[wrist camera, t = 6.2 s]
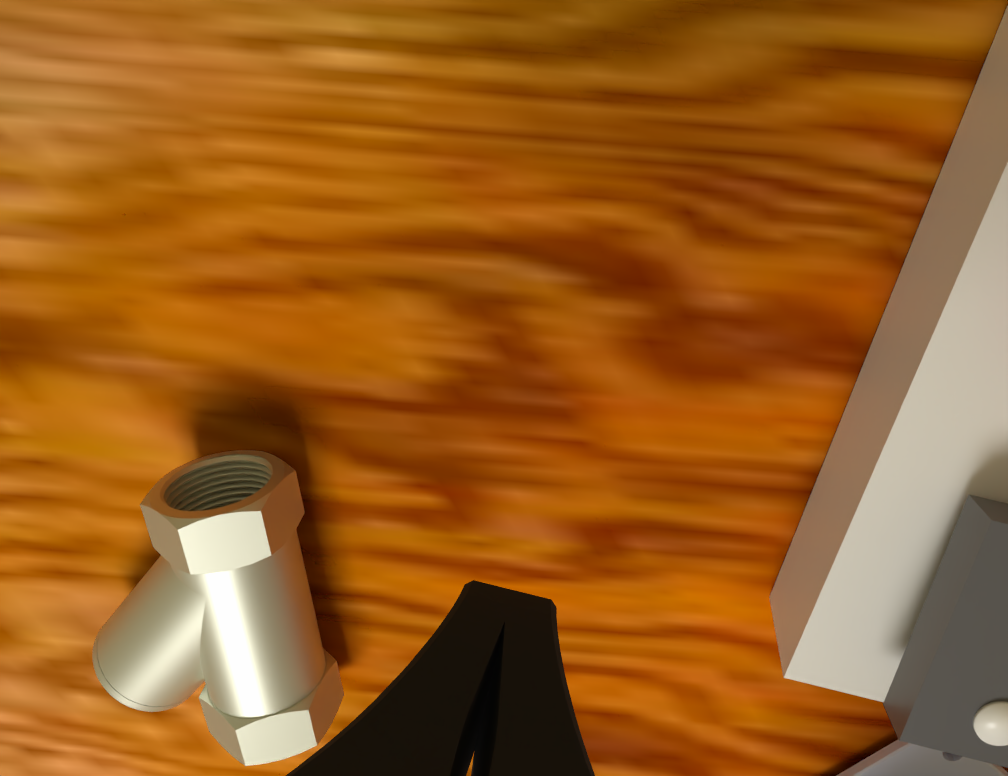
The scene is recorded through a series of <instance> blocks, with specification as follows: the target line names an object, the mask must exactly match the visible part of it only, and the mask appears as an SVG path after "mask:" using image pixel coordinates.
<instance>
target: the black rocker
mask: <svg viewBox="0 0 1008 776" xmlns="http://www.w3.org/2000/svg"><path fill="white" fill-rule="evenodd" d="M883 705H884V707H885V710H886V712H887V714H888V717H889V719H890V721H891V723H892V726H893V728H894V730H895V733H896V735H897V737H898V739H899V741H903V742H907V743H911V744H915V745H919V746H923V747H927V748H931V749H935V750H939V751H943V752H947V753H951V754H955V755H959V756H963V757H967V758H971V759H975V760H979V761H983V762H987V763H991V764H995V765H999V766H1003V767H1007V768H1008V503H1003V502H999V501H995V500H991V499H986V498H982V497H978V496H973V495H968V497H967V499H966V502H965V504H964V507H963V509H962V512H961V514H960V517H959V519H958V521H957V524H956V526H955V529H954V531H953V534H952V536H951V539H950V541H949V544H948V546H947V548H946V551H945V553H944V556H943V558H942V561H941V563H940V566H939V568H938V571H937V573H936V575H935V578H934V580H933V583H932V585H931V588H930V590H929V593H928V595H927V597H926V600H925V602H924V605H923V607H922V610H921V612H920V615H919V617H918V620H917V622H916V624H915V627H914V629H913V632H912V634H911V637H910V639H909V642H908V644H907V647H906V649H905V651H904V654H903V656H902V659H901V661H900V664H899V666H898V669H897V671H896V673H895V676H894V678H893V681H892V683H891V686H890V688H889V691H888V693H887V696H886V698H885V700H884V703H883Z"/></svg>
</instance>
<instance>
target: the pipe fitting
mask: <svg viewBox="0 0 1008 776" xmlns="http://www.w3.org/2000/svg"><path fill="white" fill-rule="evenodd" d="M140 506H141V509H142V512H143V516H144V519H145V522H146V525H147V529H148V532H149V535H150V539H151V542H152V545H153V547H154V548H155V550H156V551H157V552H158V553H159V554H160V555H161V556H160V557H159V558H158V559H157V561H156V562H155V563H154V564H153V566H152V567H151V568H150V569H149V570H148V572H147V573H146V574H145V575H144V577H143V578H142V579H141V580H140V581H139V583H138V584H137V585H136V586H135V588H134V589H133V590H132V591H131V592H130V594H129V595H128V596H127V597H126V599H125V600H124V601H123V602H122V603H121V605H120V606H119V607H118V608H117V610H116V611H115V612H114V613H113V615H112V616H111V617H110V618H109V619H108V621H107V622H106V623H105V624H104V625H103V627H102V628H101V629H100V631H99V633H98V634H97V637H96V639H95V642H94V646H93V664H94V669H95V672H96V675H97V677H98V679H99V681H100V683H101V684H102V686H103V687H104V688H105V690H106V691H107V692H108V693H109V694H110V695H111V696H112V697H113V698H115V699H116V700H117V701H119V702H120V703H122V704H124V705H126V706H128V707H131V708H133V709H136V710H141V711H149V712H157V711H164V710H168V709H171V708H173V707H176V706H178V705H179V704H181V703H183V702H184V701H185V700H187V699H188V698H189V697H190V696H191V695H192V694H193V693H194V692H195V690H196V689H197V688H198V687H199V686H200V685H201V684H202V683H203V682H204V681H205V683H206V685H205V687H204V689H203V691H202V692H201V694H200V696H199V699H200V703H201V706H202V709H203V713H204V716H205V719H206V722H207V726H208V729H209V732H210V733H211V734H212V735H213V737H214V738H215V739H216V740H217V741H218V742H219V743H220V744H221V745H222V746H223V748H224V749H225V750H226V751H227V752H228V753H230V754H231V755H232V756H233V757H234V758H235V759H237V760H238V761H239V762H241V763H242V764H244V765H245V766H248V765H258V764H265V763H270V762H274V761H278V760H283V759H286V758H289V757H291V756H294V755H297V754H300V753H302V752H304V751H306V750H308V749H310V748H313V747H315V746H317V745H318V743H319V742H320V741H321V739H322V738H323V737H324V735H325V734H326V732H327V730H328V729H329V727H330V725H331V724H332V722H333V719H334V717H335V715H336V713H337V711H338V709H339V706H340V704H341V701H342V698H343V696H344V692H343V687H342V683H341V678H340V674H339V669H338V664H337V660H336V659H334V658H333V657H332V656H331V655H330V654H329V653H328V652H327V651H326V650H325V649H323V646H322V642H321V637H320V633H319V628H318V624H317V619H316V615H315V610H314V606H313V601H312V597H311V592H310V588H309V583H308V579H307V574H306V570H305V565H304V561H303V556H302V552H301V547H300V543H299V538H298V534H297V529H296V528H297V526H298V525H299V523H300V521H301V519H302V517H303V515H304V513H305V511H304V507H303V502H302V497H301V493H300V488H299V483H298V479H297V474H296V470H294V469H293V468H292V467H291V466H289V465H288V464H287V463H286V462H284V461H283V460H281V459H279V458H278V457H276V456H274V455H272V454H270V453H267V452H264V451H256V450H235V451H226V452H221V453H216V454H212V455H208V456H204V457H201V458H198V459H195V460H193V461H190V462H188V463H186V464H184V465H182V466H180V467H178V468H176V469H174V470H172V471H171V472H169V473H168V474H166V475H165V476H164V477H163V478H161V479H160V480H159V481H158V482H157V483H156V484H155V485H154V487H153V488H152V489H151V490H150V491H149V493H148V494H147V495H146V497H145V498H144V499H143V501H142V502H141V504H140Z"/></svg>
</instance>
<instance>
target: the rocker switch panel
mask: <svg viewBox="0 0 1008 776" xmlns="http://www.w3.org/2000/svg"><path fill="white" fill-rule="evenodd" d="M968 495H973V496H978V497H982V498H986V499H991V500H995V501H999V502H1003V503H1008V6H1007V8H1006V11H1005V13H1004V16H1003V18H1002V20H1001V23H1000V25H999V28H998V30H997V33H996V35H995V38H994V40H993V43H992V45H991V48H990V50H989V53H988V55H987V58H986V60H985V63H984V65H983V68H982V70H981V73H980V75H979V78H978V80H977V83H976V85H975V88H974V90H973V93H972V95H971V98H970V100H969V102H968V105H967V107H966V110H965V112H964V115H963V117H962V120H961V122H960V125H959V127H958V130H957V132H956V135H955V137H954V140H953V142H952V145H951V147H950V150H949V152H948V155H947V157H946V160H945V162H944V165H943V167H942V170H941V172H940V175H939V177H938V180H937V182H936V184H935V187H934V189H933V192H932V194H931V197H930V199H929V202H928V204H927V207H926V209H925V212H924V214H923V217H922V219H921V222H920V224H919V227H918V229H917V232H916V234H915V237H914V239H913V242H912V244H911V247H910V249H909V252H908V254H907V257H906V259H905V261H904V264H903V266H902V269H901V271H900V274H899V276H898V279H897V281H896V284H895V286H894V289H893V291H892V294H891V296H890V299H889V301H888V304H887V306H886V309H885V311H884V314H883V316H882V319H881V321H880V324H879V326H878V329H877V331H876V334H875V336H874V339H873V341H872V343H871V346H870V348H869V351H868V353H867V356H866V358H865V361H864V363H863V366H862V368H861V371H860V373H859V376H858V378H857V381H856V383H855V386H854V388H853V391H852V393H851V396H850V398H849V401H848V403H847V406H846V408H845V411H844V413H843V416H842V418H841V421H840V423H839V425H838V428H837V430H836V433H835V435H834V438H833V440H832V443H831V445H830V448H829V450H828V453H827V455H826V458H825V460H824V463H823V465H822V468H821V470H820V473H819V475H818V478H817V480H816V483H815V485H814V488H813V490H812V493H811V495H810V498H809V500H808V503H807V505H806V507H805V510H804V512H803V515H802V517H801V520H800V522H799V525H798V527H797V530H796V532H795V535H794V537H793V540H792V542H791V545H790V547H789V550H788V552H787V555H786V557H785V560H784V562H783V565H782V567H781V570H780V572H779V575H778V577H777V580H776V582H775V585H774V587H773V589H772V592H771V594H770V597H769V598H770V604H771V609H772V615H773V621H774V626H775V632H776V637H777V643H778V648H779V654H780V660H781V665H782V671H783V676H784V678H788V679H792V680H796V681H800V682H804V683H808V684H812V685H816V686H820V687H824V688H828V689H832V690H836V691H840V692H844V693H848V694H852V695H856V696H860V697H864V698H868V699H872V700H876V701H880V702H884V700H885V698H886V696H887V693H888V691H889V688H890V686H891V683H892V681H893V678H894V676H895V673H896V671H897V669H898V666H899V664H900V661H901V659H902V656H903V654H904V651H905V649H906V647H907V644H908V642H909V639H910V637H911V634H912V632H913V629H914V627H915V624H916V622H917V620H918V617H919V615H920V612H921V610H922V607H923V605H924V602H925V600H926V597H927V595H928V593H929V590H930V588H931V585H932V583H933V580H934V578H935V575H936V573H937V571H938V568H939V566H940V563H941V561H942V558H943V556H944V553H945V551H946V548H947V546H948V544H949V541H950V539H951V536H952V534H953V531H954V529H955V526H956V524H957V521H958V519H959V517H960V514H961V512H962V509H963V507H964V504H965V502H966V499H967V497H968Z"/></svg>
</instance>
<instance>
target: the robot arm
mask: <svg viewBox="0 0 1008 776" xmlns="http://www.w3.org/2000/svg"><path fill="white" fill-rule="evenodd" d="M474 750H475V751H474ZM473 753H474V758H473V766H472V773H471V776H595V775H594V772H593V769H592V766H591V764H590V761H589V758H588V755H587V752H586V749H585V746H584V743H583V740H582V737H581V734H580V730H579V727H578V724H577V720H576V717H575V713H574V709H573V705H572V701H571V698H570V694H569V690H568V686H567V682H566V677H565V673H564V668H563V663H562V657H561V652H560V646H559V639H558V631H557V618H556V606H555V605H554V603H553V602H552V600H551V599H547V598H543V597H539V596H535V595H530V594H526V593H522V592H518V591H514V590H510V589H506V588H502V587H498V586H494V585H490V584H486V583H482V582H478V581H474V580H473V581H471V582H469V583H467V584H465V585H464V588H463V590H462V592H461V594H460V596H459V597H458V599H457V601H456V602H455V604H454V606H453V607H452V609H451V610H450V612H449V613H448V615H447V616H446V618H445V619H444V621H443V622H442V623H441V625H440V626H439V627H438V629H437V630H436V631H435V633H434V634H433V635H432V637H431V638H430V639H429V640H428V642H427V643H426V644H425V645H424V646H423V648H422V649H421V650H420V651H419V652H418V654H417V655H416V656H415V657H414V659H413V660H412V661H411V662H410V663H409V664H408V666H407V667H406V668H405V669H404V670H403V671H402V672H401V673H400V674H399V675H398V676H397V678H396V679H395V680H394V681H393V682H392V683H391V684H390V685H389V686H388V687H387V688H386V689H385V690H384V691H383V692H382V693H381V694H380V695H379V696H378V697H377V699H376V700H375V701H374V702H373V703H372V704H371V705H369V706H368V707H367V708H366V709H365V710H364V711H363V712H362V713H361V714H360V715H359V716H358V717H357V718H356V719H355V720H354V721H352V722H351V723H350V724H349V725H348V726H347V727H346V728H345V729H343V730H342V731H341V732H340V733H339V734H338V735H337V736H335V737H334V738H333V739H332V740H331V741H330V742H328V743H327V744H326V745H325V746H323V747H322V748H321V749H320V750H318V751H317V752H316V753H315V754H313V755H312V756H311V757H309V758H308V759H307V760H306V761H304V762H303V763H302V764H301V765H299V766H298V767H297V768H295V769H294V770H293V771H291V772H290V773H289V774H287V775H286V776H466V774H467V771H468V768H469V765H470V762H471V759H472V756H473ZM836 776H1008V772H1007V771H1006V770H1005V769H1003V768H1002V767H1001V766H999V765H995V764H991V763H987V762H983V761H979V760H975V759H971V758H967V757H963V756H959V755H955V754H951V753H947V752H943V751H939V750H935V749H931V748H927V747H923V746H919V745H915V744H911V743H907V742H903V741H899V739H898V740H896V741H894V742H893V743H891V744H889V745H888V746H886V747H884V748H882V749H881V750H879V751H877V752H876V753H874V754H872V755H870V756H869V757H867V758H865V759H864V760H862V761H860V762H859V763H857V764H855V765H853V766H852V767H850V768H848V769H847V770H845V771H843V772H841V773H840V774H838V775H836Z"/></svg>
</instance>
